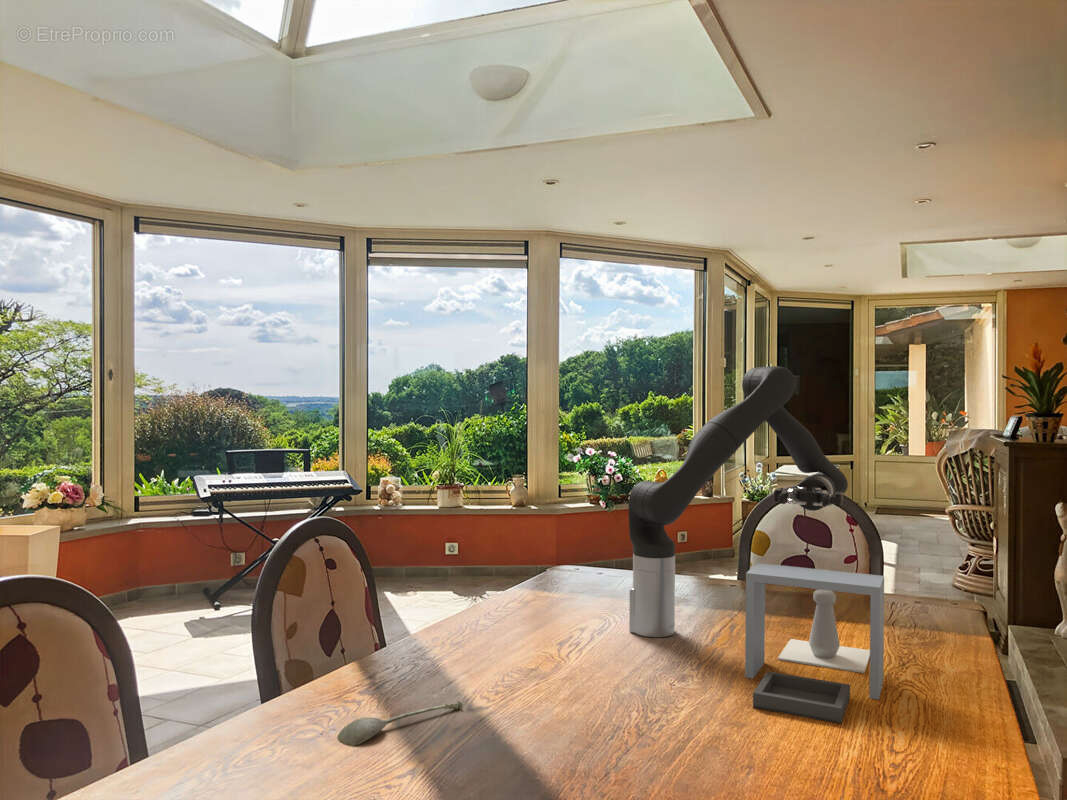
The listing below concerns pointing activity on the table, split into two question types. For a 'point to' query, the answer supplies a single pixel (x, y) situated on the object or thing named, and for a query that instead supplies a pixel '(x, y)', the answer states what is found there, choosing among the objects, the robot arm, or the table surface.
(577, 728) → the table surface
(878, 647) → the gate
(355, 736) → the soupspoon
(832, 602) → the salt shaker
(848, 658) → the pad
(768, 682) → the pit box
